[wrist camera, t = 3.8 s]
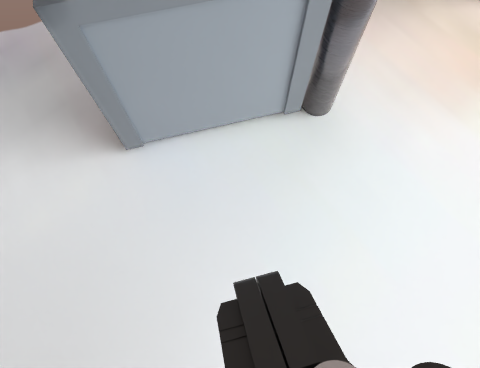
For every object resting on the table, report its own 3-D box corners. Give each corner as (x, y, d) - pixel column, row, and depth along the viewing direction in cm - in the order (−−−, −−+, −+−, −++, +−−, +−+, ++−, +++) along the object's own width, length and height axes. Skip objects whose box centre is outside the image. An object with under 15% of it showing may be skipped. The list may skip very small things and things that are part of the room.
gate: (294, 95, 35) (335, -71, 20) (300, 110, 34) (346, -50, 20) (123, 133, 34) (31, -18, 19) (126, 149, 33) (33, 7, 18)
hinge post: (325, 88, 36) (399, -112, 20) (335, 112, 35) (423, -77, 19) (298, 94, 36) (349, -103, 19) (307, 118, 35) (370, -67, 18)
